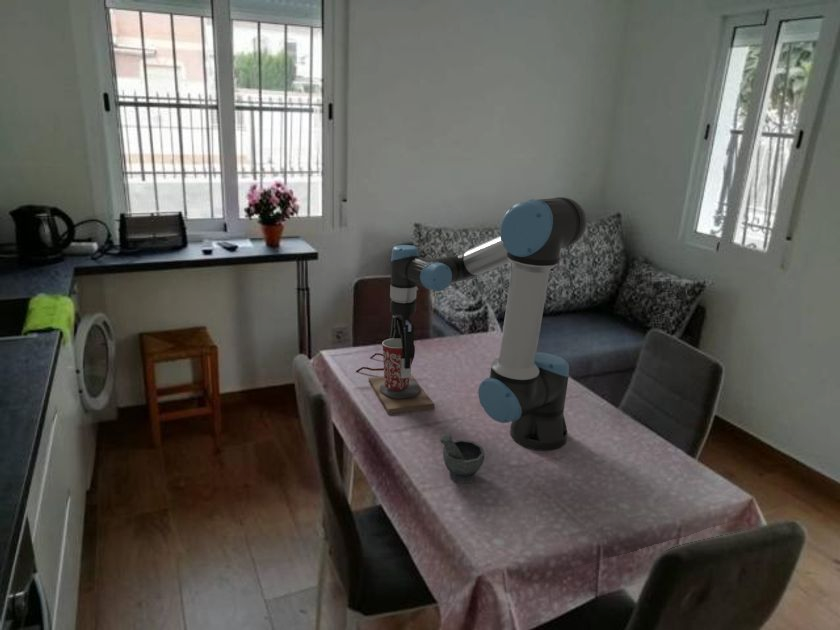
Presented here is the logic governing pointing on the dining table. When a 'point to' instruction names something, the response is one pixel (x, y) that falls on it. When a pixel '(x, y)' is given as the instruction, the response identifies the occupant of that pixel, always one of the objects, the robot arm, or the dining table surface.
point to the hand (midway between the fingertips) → (400, 371)
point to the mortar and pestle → (462, 458)
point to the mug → (394, 364)
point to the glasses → (371, 368)
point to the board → (401, 396)
